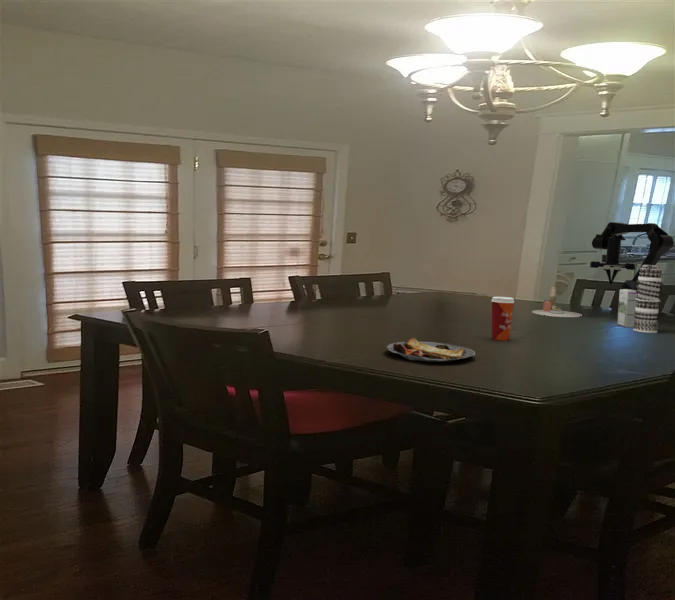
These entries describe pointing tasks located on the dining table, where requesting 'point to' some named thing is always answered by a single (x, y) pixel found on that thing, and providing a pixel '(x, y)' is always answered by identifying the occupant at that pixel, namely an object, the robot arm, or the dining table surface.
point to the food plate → (429, 351)
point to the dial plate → (557, 313)
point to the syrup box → (627, 307)
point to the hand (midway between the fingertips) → (610, 284)
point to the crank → (553, 298)
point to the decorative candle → (648, 299)
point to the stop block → (547, 306)
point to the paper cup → (501, 317)
